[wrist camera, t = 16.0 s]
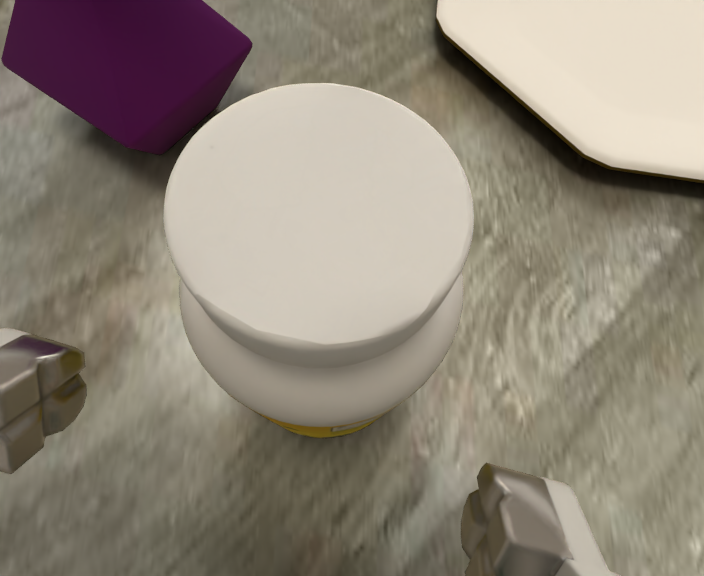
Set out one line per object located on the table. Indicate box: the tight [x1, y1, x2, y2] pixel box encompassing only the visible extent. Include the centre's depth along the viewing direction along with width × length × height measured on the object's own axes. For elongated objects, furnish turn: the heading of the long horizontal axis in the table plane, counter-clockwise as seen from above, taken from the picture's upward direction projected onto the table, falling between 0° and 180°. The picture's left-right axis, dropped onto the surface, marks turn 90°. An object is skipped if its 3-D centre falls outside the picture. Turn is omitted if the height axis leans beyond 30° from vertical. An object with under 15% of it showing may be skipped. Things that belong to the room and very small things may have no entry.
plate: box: [436, 0, 704, 183], centre depth 25 cm, size 28×28×2 cm
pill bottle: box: [163, 83, 474, 438], centre depth 11 cm, size 6×6×11 cm
